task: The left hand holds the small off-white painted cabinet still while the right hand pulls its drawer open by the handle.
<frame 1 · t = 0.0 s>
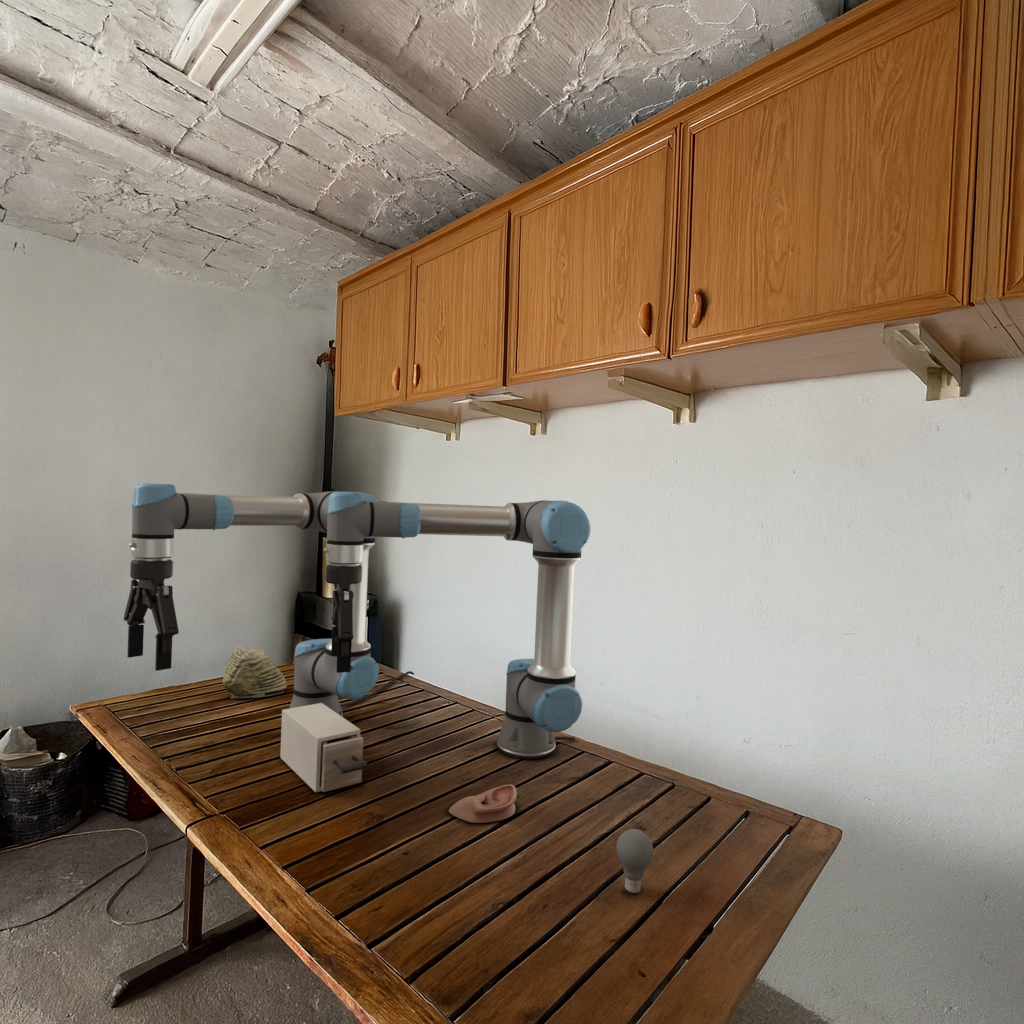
left hand: (148, 662, 129), 28 cm above the table, tool pointing down, fingers open, 13 cm apart
right hand: (340, 663, 135), 28 cm above the table, tool pointing down, fingers open, 13 cm apart
cabinet: (318, 769, 147), on the table
drawer: (329, 752, 142), point 6 cm above the table, slide at 1.5 cm
fossil: (254, 694, 198), on the table
anatomical model: (483, 810, 131), on the table
light bulb: (632, 891, 106), on the table
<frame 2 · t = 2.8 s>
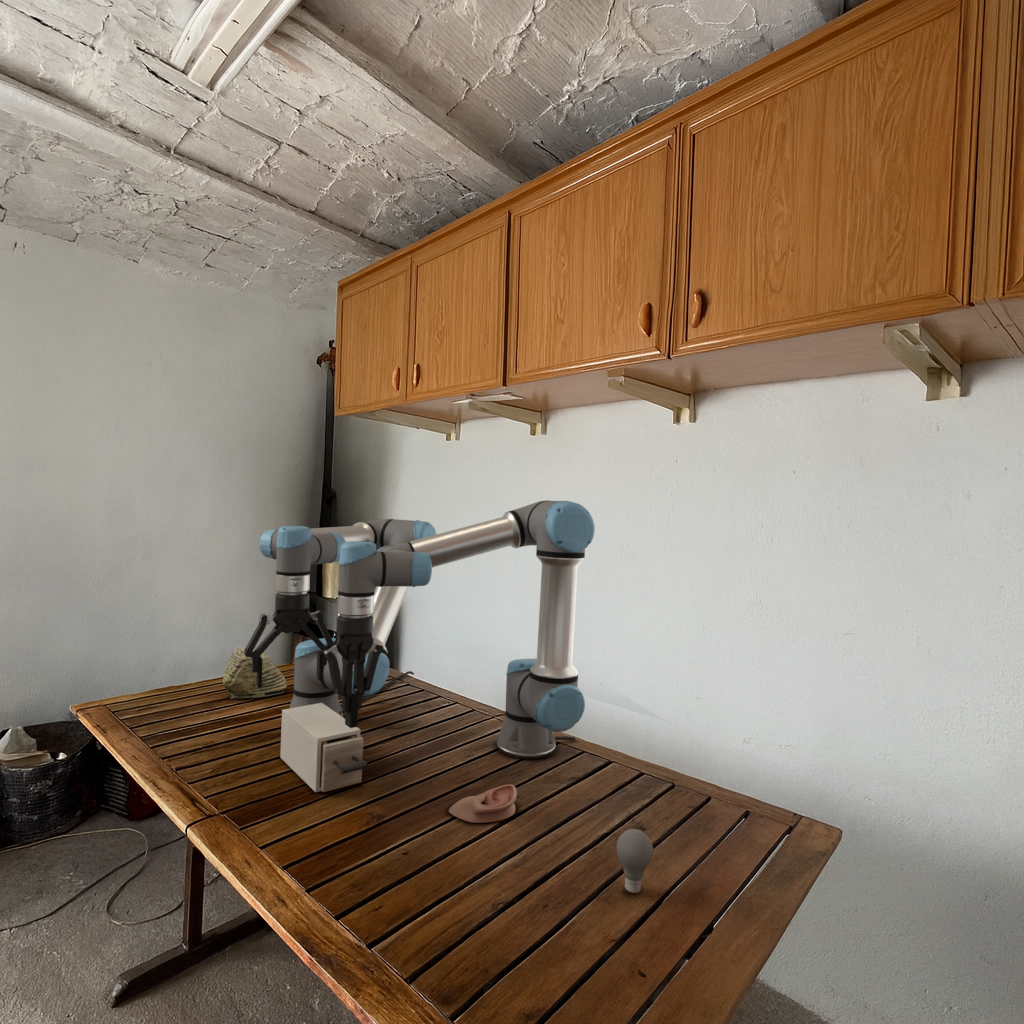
left hand: (289, 682, 148), 19 cm above the table, tool pointing down, fingers open, 13 cm apart
right hand: (351, 725, 134), 15 cm above the table, tool pointing down, fingers closed
nothing on the table moved.
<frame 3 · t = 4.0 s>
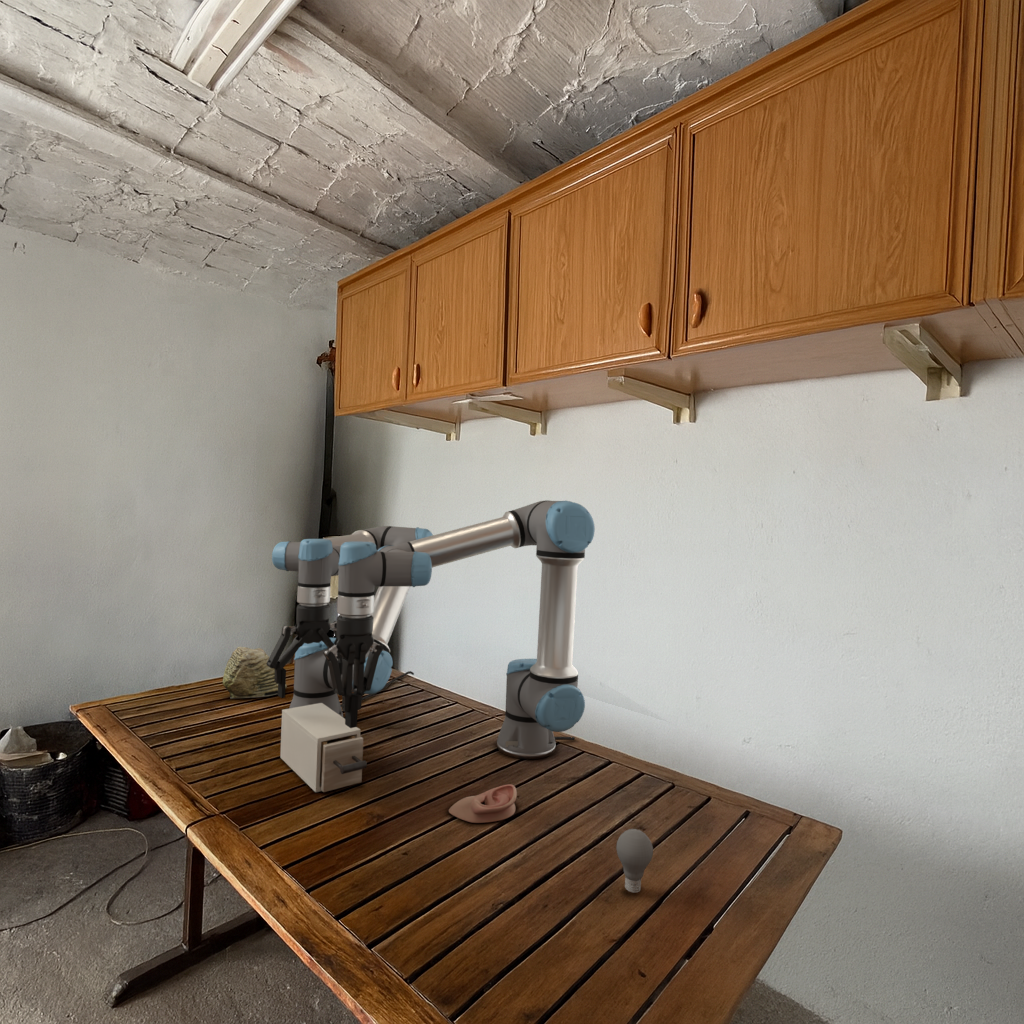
left hand: (309, 692, 151), 16 cm above the table, tool pointing down, fingers open, 13 cm apart
right hand: (351, 725, 134), 15 cm above the table, tool pointing down, fingers closed
nothing on the table moved.
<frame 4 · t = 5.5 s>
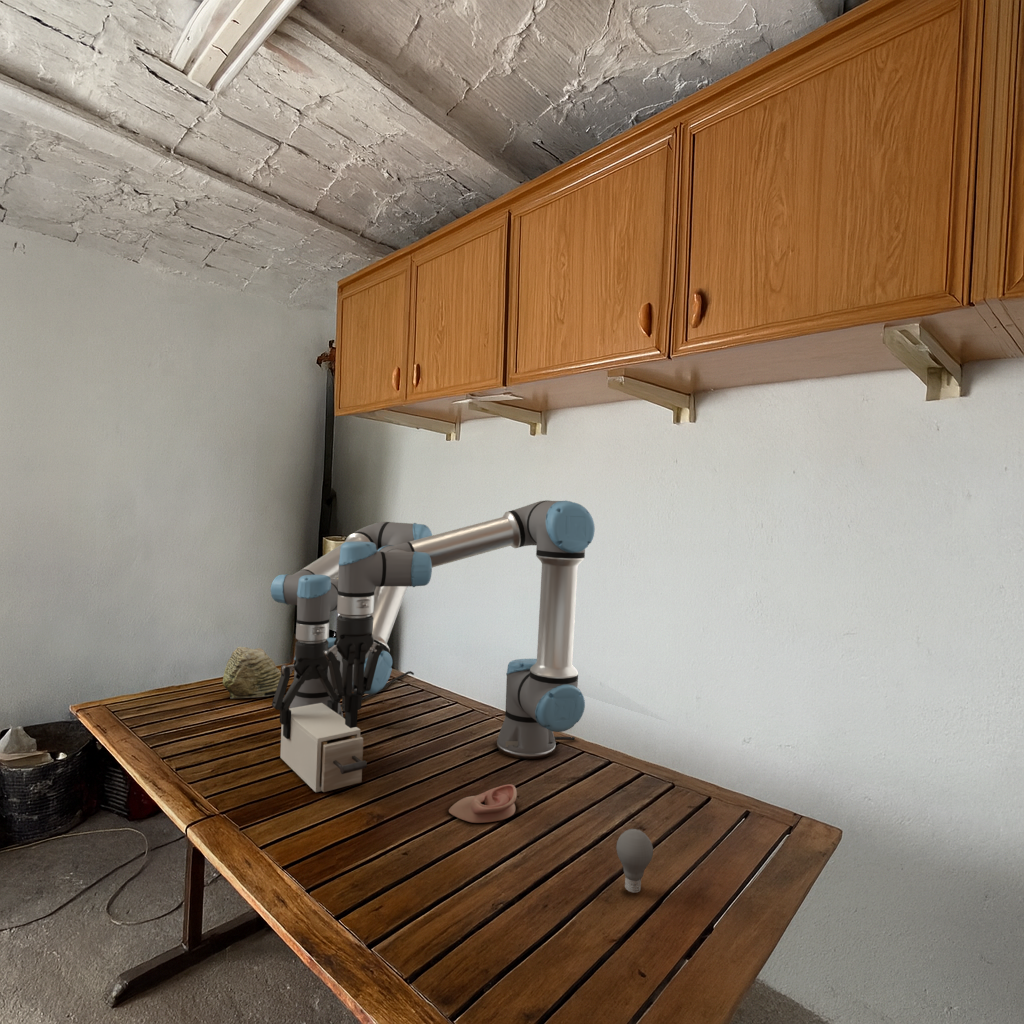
left hand: (308, 732, 152), 7 cm above the table, tool pointing down, fingers closed on cabinet, 10 cm apart
right hand: (351, 725, 134), 15 cm above the table, tool pointing down, fingers closed
cabinet: (318, 769, 147), on the table, touching left hand
everything else where it was.
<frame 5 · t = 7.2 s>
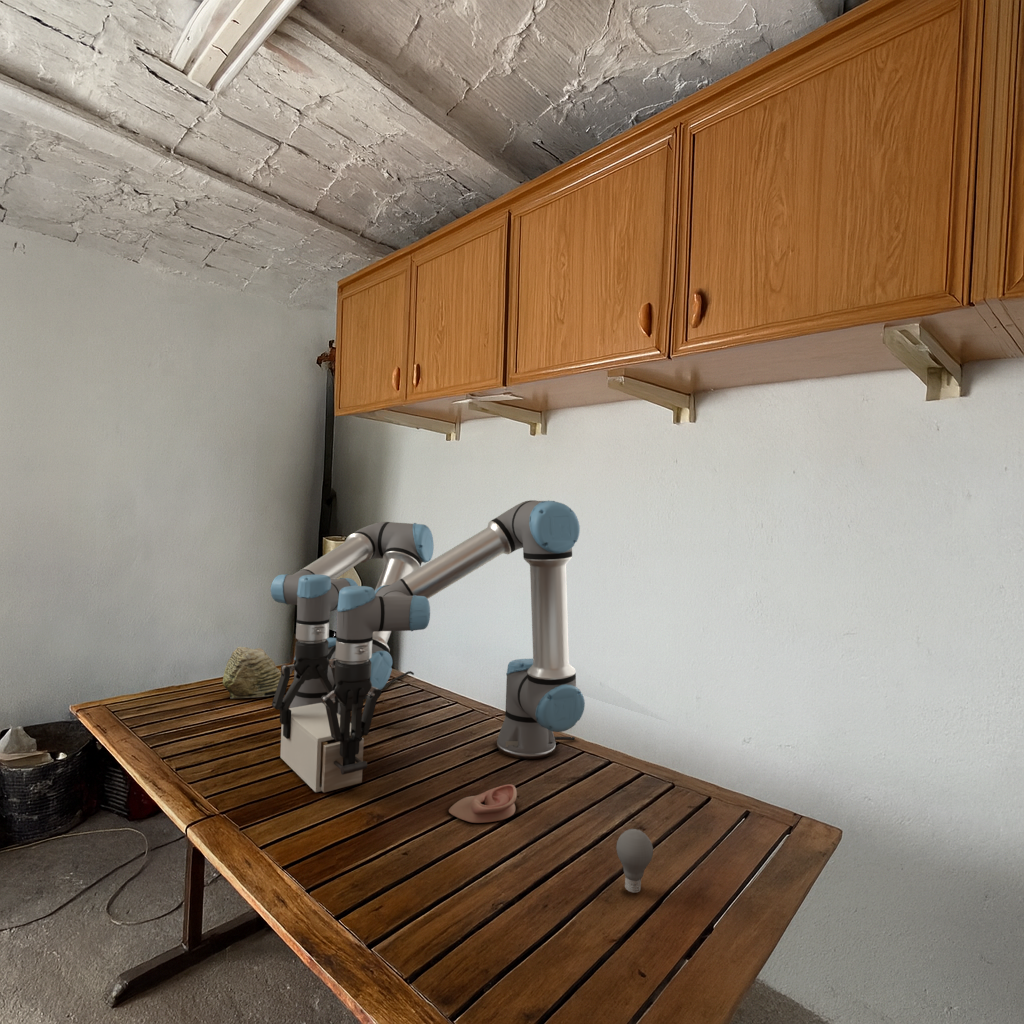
left hand: (308, 732, 152), 7 cm above the table, tool pointing down, fingers closed on cabinet, 10 cm apart
right hand: (348, 770, 134), 6 cm above the table, tool pointing down, fingers closed
cabinet: (318, 768, 147), on the table, touching left hand
drawer: (329, 753, 142), point 6 cm above the table, slide at 1.7 cm, touching right hand
everything else where it was.
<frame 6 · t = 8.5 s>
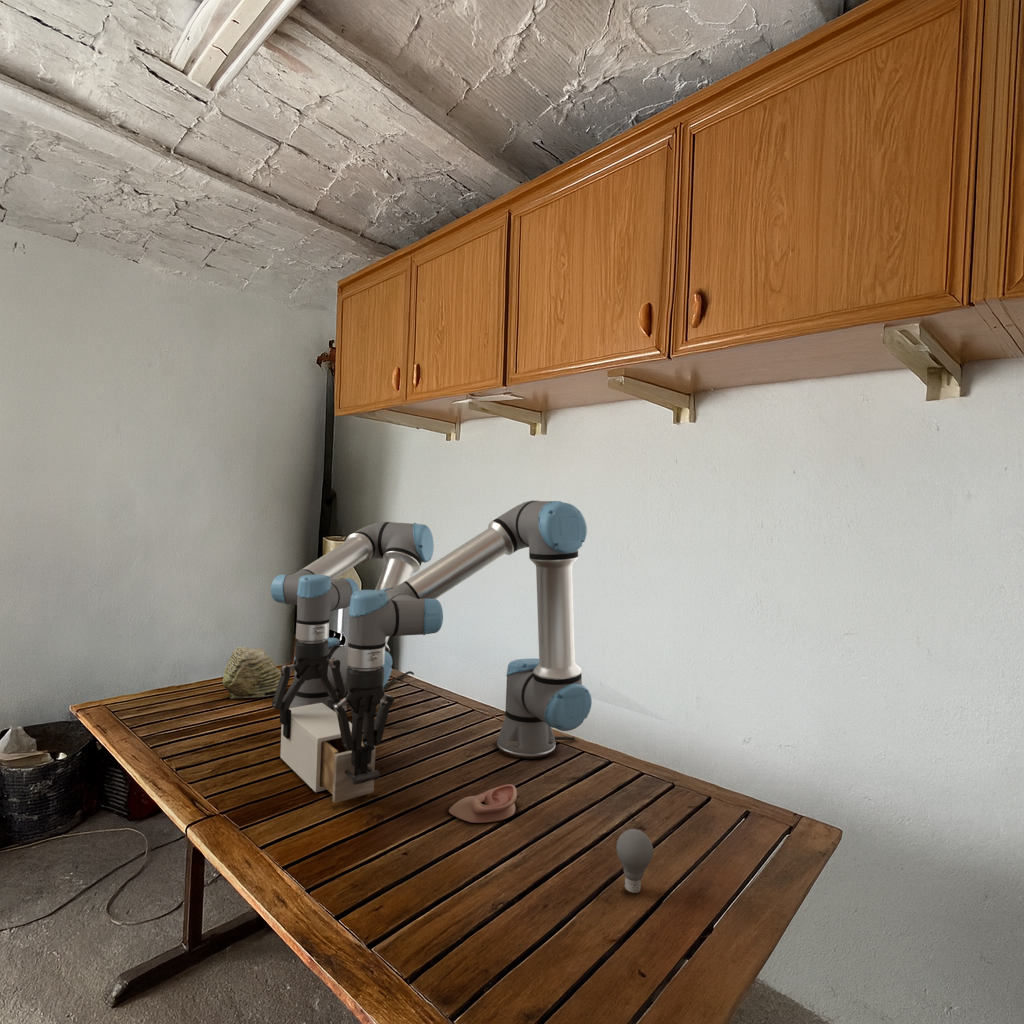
left hand: (308, 732, 152), 7 cm above the table, tool pointing down, fingers closed on cabinet, 10 cm apart
right hand: (360, 780, 130), 6 cm above the table, tool pointing down, fingers closed
cabinet: (318, 768, 147), on the table, touching left hand
drawer: (340, 761, 138), point 6 cm above the table, slide at 7.2 cm, touching right hand
everything else where it was.
when the left hand's fingers open (7 cm above the table, at t = 10.1 s): cabinet stays where it is, on the table.
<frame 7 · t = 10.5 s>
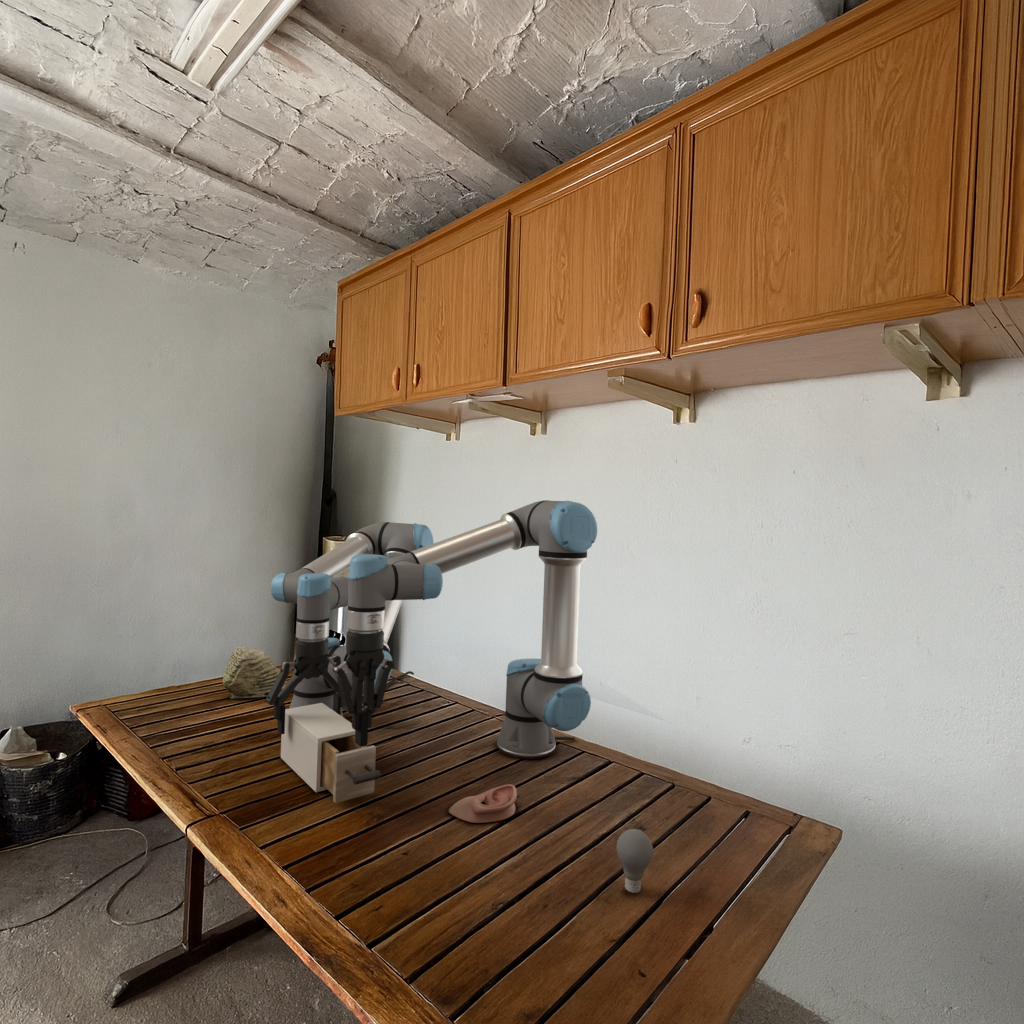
left hand: (309, 726, 152), 8 cm above the table, tool pointing down, fingers open, 13 cm apart
right hand: (361, 743, 131), 13 cm above the table, tool pointing down, fingers closed
cabinet: (318, 769, 147), on the table
drawer: (340, 761, 138), point 6 cm above the table, slide at 7.3 cm
everything else where it was.
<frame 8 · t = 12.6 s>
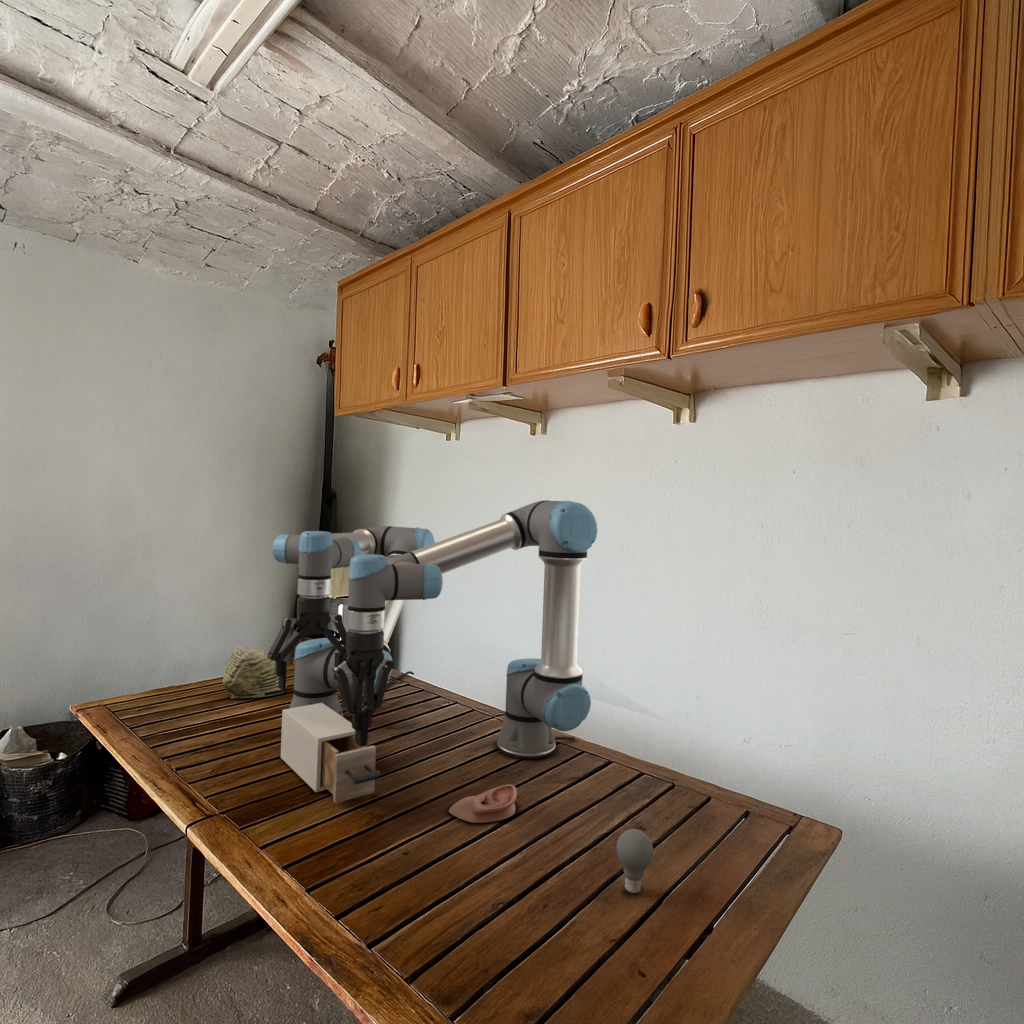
left hand: (310, 684, 152), 18 cm above the table, tool pointing down, fingers open, 13 cm apart
right hand: (361, 743, 131), 13 cm above the table, tool pointing down, fingers closed
nothing on the table moved.
at the end: drawer slide at 7.3 cm; cabinet tilted 0°; cabinet never tilted more than 1° during the clip; cabinet moved 0.1 cm from its start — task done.
